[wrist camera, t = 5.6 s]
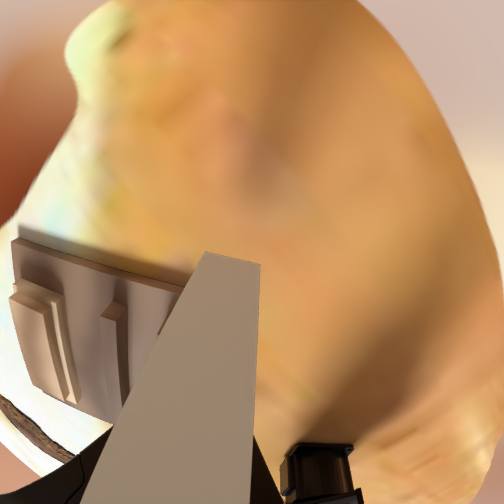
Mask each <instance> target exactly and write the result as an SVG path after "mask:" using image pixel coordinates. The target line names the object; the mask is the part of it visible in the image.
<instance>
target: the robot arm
mask: <svg viewBox="0 0 504 504" xmlns="http://www.w3.org/2000/svg"><path fill="white" fill-rule="evenodd" d="M113 427H114V426H112V427H111V428H110V429H109V430H107V431H106V432H105V433H104V434H102V435H101V436H100V437H99V438H97V439H96V440H95V441H94V442H92V443H91V444H90V445H89V446H87V447H86V448H85V449H84V450H82V451H81V452H80V453H79V454H80V455H79V454H77V455H76V456H74V457H73V458H72V459H71V460H69V461H68V462H66V463H65V464H64V465H62V466H61V467H59V468H58V469H56V470H54V471H53V472H51V473H49V474H48V475H46V476H44V477H42V478H40V479H38V480H37V481H34V482H32V483H30V484H29V485H26V486H24V487H22V488H20V489H18V490H16V491H13V492H10V493H6V494H0V504H80V502H81V500H82V497H83V495H84V493H85V490H86V488H87V485H88V483H89V481H90V478H91V476H92V474H93V471H94V469H95V467H96V465H97V462H98V460H99V458H100V456H101V453H102V451H103V449H104V447H105V444H106V442H107V440H108V438H109V436H110V434H111V431H112V429H113ZM353 450H354V446H353V445H334V444H309V443H299V444H297V445H296V446H295V447H294V449H293V450H292V452H291V453H290V455H288V456H287V457H286V458H285V460H284V461H283V463H282V464H281V465H280V493H279V491H278V489H277V487H276V484H275V482H274V480H273V478H272V476H271V474H270V471H269V469H268V467H267V465H266V462H265V460H264V458H263V456H262V453H261V451H260V449H259V447H258V444H257V442H256V440H255V437H254V435H253V448H252V467H251V485H250V503H249V504H283V503H284V501H283V499H282V497H281V495H282V496H286V504H364V500H363V496H362V491H361V488H357V489H356V490H354V487H353V481H352V476H351V471H350V466H349V461H348V456H349V454H350V453H351V452H352V451H353ZM280 494H281V495H280Z"/></svg>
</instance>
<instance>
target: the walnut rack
mask: <svg viewBox="0 0 504 504" xmlns="http://www.w3.org/2000/svg"><path fill="white" fill-rule="evenodd" d="M11 249H12V260H13V269H14V277H15V282H16V281H18V280H19V279H21V278H22V279H25V280H27V281H29V282H32V283H34V284H36V285H39V286H41V287H44V288H46V289H48V290H51V291H53V292H56V293H58V294H61V295H64V297H65V307H66V316H67V323H68V331H69V337H70V343H71V349H72V355H73V360H74V365H75V370H76V375H77V379H78V384H79V388H80V392H81V396H82V397H81V399H80V400H79V402H78V404H77V405H76V404H74V403H72V402H70V401H68V400H65V402H64V401H62V400H60V399H58V398H56V397H54V396H52V395H50V394H49V393H47V392H45V391H43V392H44V393H46V394H47V395H49V396H51V397H53V398H55V399H57V400H59V401H61V402H63V403H65V404H67V405H69V406H71V407H73V408H75V409H78V410H80V411H82V412H84V413H86V414H89V415H91V416H93V417H96V418H98V419H101V420H103V421H106V422H108V423H111V424H113V426H114V425H115V423H116V421H117V419H118V417H119V414H120V412H121V410H122V408H123V406H124V404H125V402H126V400H127V398H128V396H129V394H130V392H131V390H132V388H133V386H134V384H135V382H136V380H137V378H138V376H139V374H140V372H141V370H142V368H143V366H144V364H145V362H146V360H147V358H148V356H149V354H150V352H151V350H152V348H153V346H154V344H155V342H156V340H157V338H158V337H159V335H160V333H161V331H162V329H163V327H164V325H165V323H166V321H167V319H168V318H169V316H170V314H171V312H172V310H173V308H174V306H175V305H176V303H177V301H178V299H179V297H180V295H181V294H182V292H183V290H184V288H185V287H182V286H178V285H174V284H170V283H166V282H162V281H159V280H155V279H151V278H147V277H144V276H140V275H136V274H133V273H129V272H126V271H122V270H119V269H115V268H112V267H108V266H105V265H102V264H98V263H95V262H92V261H88V260H85V259H82V258H78V257H75V256H72V255H69V254H66V253H63V252H59V251H56V250H53V249H50V248H47V247H44V246H41V245H38V244H35V243H32V242H29V241H26V240H24V239H21V238H17V239H15V240H13V241H11Z"/></svg>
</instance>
